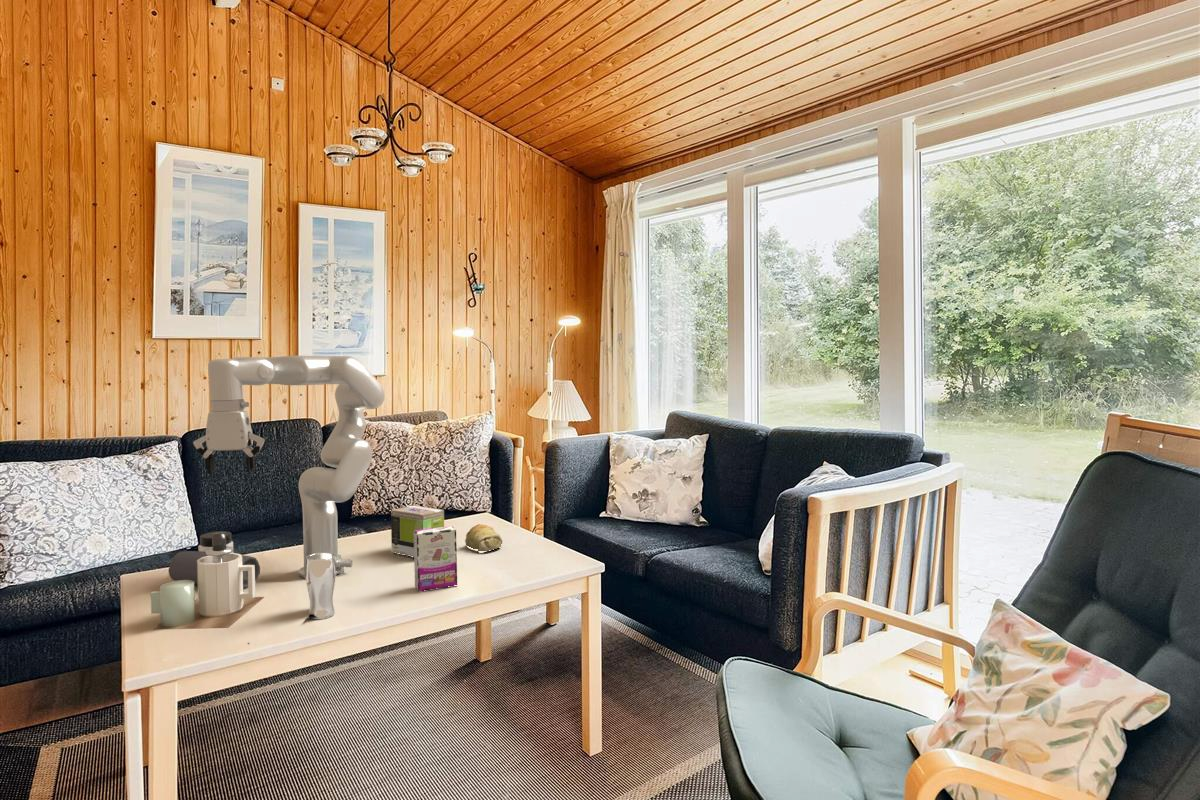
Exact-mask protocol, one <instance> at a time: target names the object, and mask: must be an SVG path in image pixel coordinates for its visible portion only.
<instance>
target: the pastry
mask: <svg viewBox="0 0 1200 800" xmlns="http://www.w3.org/2000/svg"><path fill="white" fill-rule="evenodd" d="M464 542H465V546H466V545H467V546H469V547H471V548H473V549H478V551H489V550H493V549H497V548H499V547H501V548H502V545H501V544H503V539H502V537H501V535H500V534H499V533H498V532H497V531H496V530H495V529H494V528H493V527H491V526H489V525H487V524H477V525H475V526H472V527H471V528H470V529H469V530H468V532H466V535H465V540H464ZM467 546H466V547H467ZM497 550H498V549H497Z"/></svg>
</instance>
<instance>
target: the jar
mask: <svg viewBox="0 0 1200 800" xmlns="http://www.w3.org/2000/svg"><path fill="white" fill-rule="evenodd" d="M217 532H226V546H231V547H233V548H234V541H233V540H232V532H230V531H226V530H225V531H222V530H221V531H211V532H207V533H203V534H200V536H199V545H198V546H197V547H198V551H203V552H206V550H207V549H209V548H213V546H212V534H213V533H217ZM232 553H234V551H233V552H232Z"/></svg>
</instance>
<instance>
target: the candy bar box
mask: <svg viewBox="0 0 1200 800" xmlns="http://www.w3.org/2000/svg"><path fill="white" fill-rule="evenodd" d="M457 547H458V545H457V529H456V528H455V527H454V526H453V525H451V526H449V525H448V526H444V527H439V528H431V529H423V530H414V559H413V560H414V561H413V562H414V563H413V564H414V565H413V566H414V587H416V588H417V589H416V588H415V589H416V591H417V592H418V591H422V592H425V591H424V590H429V591H431V590H430V589H435V590H437V589H436V588H441V589H444V588H443V587H447V588H449V587H448V586H454V585H457V586H458V559H457V552H458V551H457ZM454 587H455V586H454Z"/></svg>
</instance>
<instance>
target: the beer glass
mask: <svg viewBox="0 0 1200 800" xmlns="http://www.w3.org/2000/svg"><path fill="white" fill-rule="evenodd" d="M336 576H337V575H336V568H335V558H334V554H333V553H327V552H323V553H315V554H311V555H308V556H307V557H306V578H305V583H306V589H307V592H308V598H309V609H308V613H309V614H308V618H309V619H310V620H325V619H328V618H332V617H333V616H334V615H335V607H334V601H333V600H334V599H333V596H334V590H335V585H336V584H335V583H336Z"/></svg>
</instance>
